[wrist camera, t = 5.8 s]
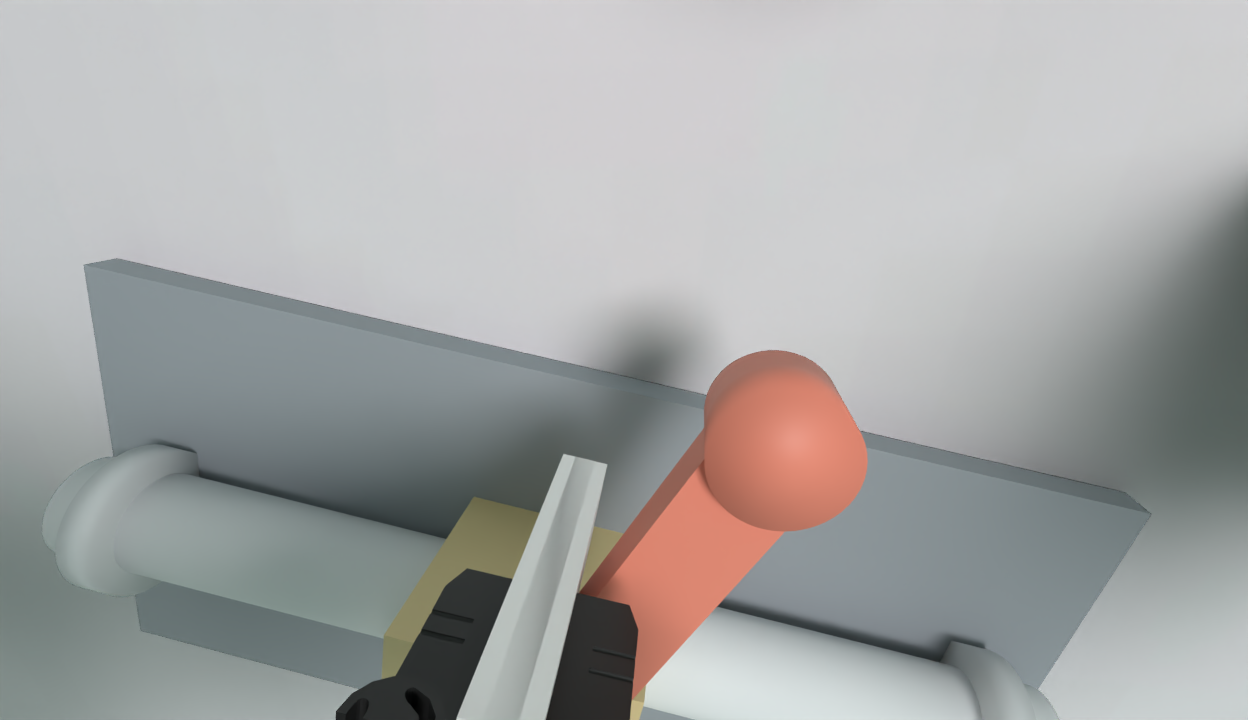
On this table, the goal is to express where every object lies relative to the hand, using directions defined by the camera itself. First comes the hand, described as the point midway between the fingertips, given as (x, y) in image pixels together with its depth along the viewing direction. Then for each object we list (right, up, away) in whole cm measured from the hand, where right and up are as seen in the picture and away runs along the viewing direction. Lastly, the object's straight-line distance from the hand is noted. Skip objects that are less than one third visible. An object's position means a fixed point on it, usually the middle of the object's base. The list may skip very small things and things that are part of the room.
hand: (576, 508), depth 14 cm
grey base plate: (-1, -5, +9) cm, 11 cm away
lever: (+1, -3, 0) cm, 3 cm away
